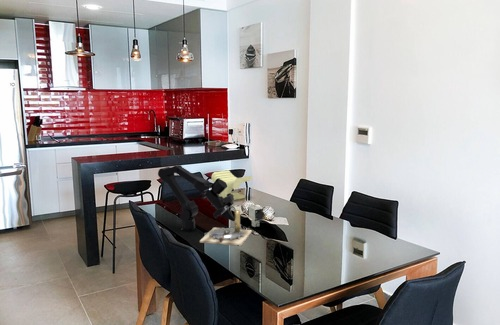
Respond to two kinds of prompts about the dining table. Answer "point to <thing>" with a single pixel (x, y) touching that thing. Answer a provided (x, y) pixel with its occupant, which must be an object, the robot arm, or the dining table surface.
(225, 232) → the sprocket
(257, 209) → the pneumatic valve
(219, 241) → the sprocket base
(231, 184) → the slatted curved stool
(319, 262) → the dining table surface
